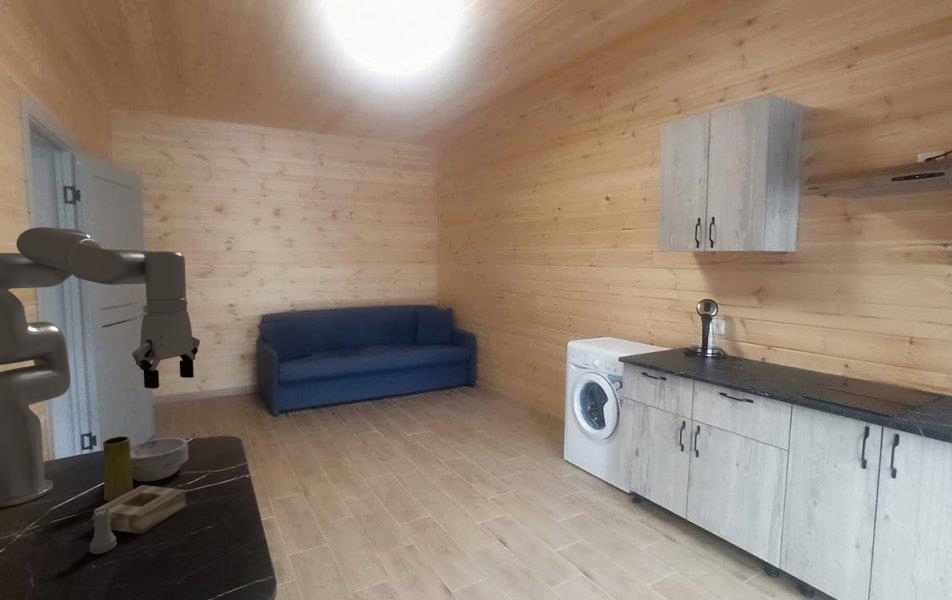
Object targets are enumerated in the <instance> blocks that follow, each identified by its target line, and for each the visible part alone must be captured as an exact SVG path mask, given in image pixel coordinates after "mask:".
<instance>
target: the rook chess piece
mask: <svg viewBox="0 0 952 600" xmlns="http://www.w3.org/2000/svg"><path fill="white" fill-rule="evenodd" d="M101 509H102V511H99V509H98V510H96V512H94V511H93V515H92V516H91V520H92V521H94V523H93V525H92V526H93V527H94V532H93V533H94V535H93V537H92V538H91V539H92V540H91V541H90V543H89V548H90V549H89V550H88V551H89V552H90V553H91V554H92V555H101V554H105V553H108V552H110V551H112V550H113V549H114V548H115V547H116V545H117V543H118V542H117V537H116V535H114V532H112V530H111V528H110V521H111V520H110V519H109V517H110V515H111V514H112V512H110V511H109V508H106V510H105V509H104V508H101Z"/></svg>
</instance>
